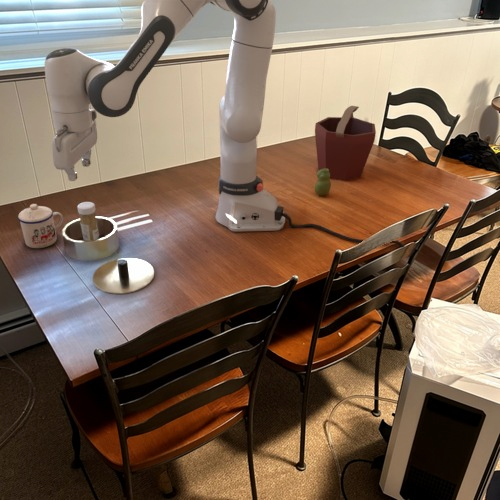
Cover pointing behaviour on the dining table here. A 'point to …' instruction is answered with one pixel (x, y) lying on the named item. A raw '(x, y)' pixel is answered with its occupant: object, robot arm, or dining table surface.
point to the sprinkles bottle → (88, 221)
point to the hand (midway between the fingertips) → (80, 172)
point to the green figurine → (323, 182)
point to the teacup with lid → (39, 226)
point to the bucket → (344, 144)
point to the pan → (91, 248)
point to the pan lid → (123, 276)
